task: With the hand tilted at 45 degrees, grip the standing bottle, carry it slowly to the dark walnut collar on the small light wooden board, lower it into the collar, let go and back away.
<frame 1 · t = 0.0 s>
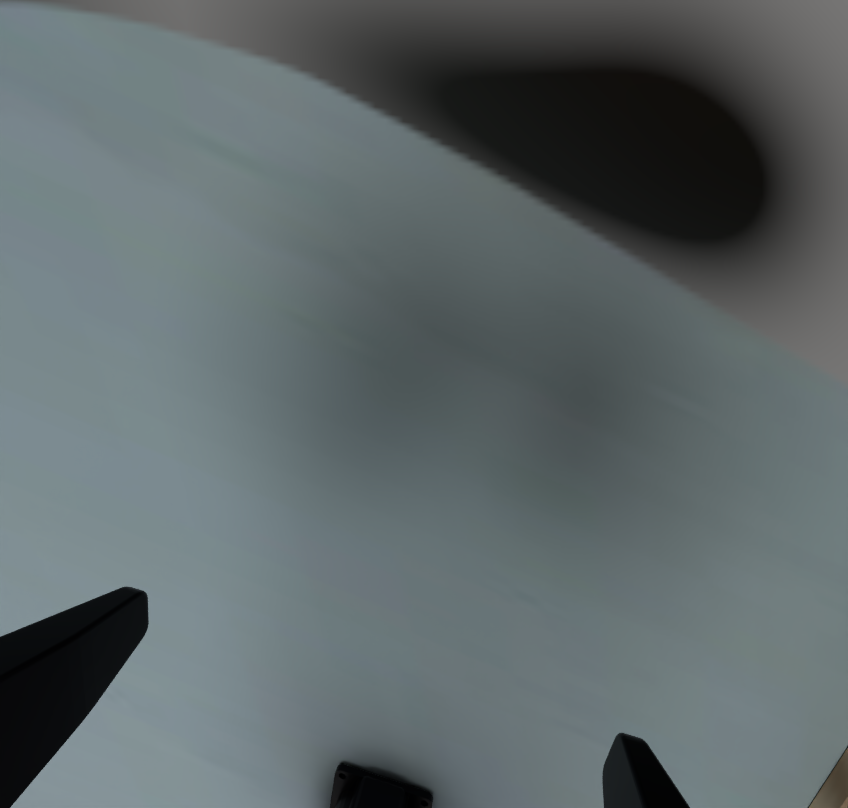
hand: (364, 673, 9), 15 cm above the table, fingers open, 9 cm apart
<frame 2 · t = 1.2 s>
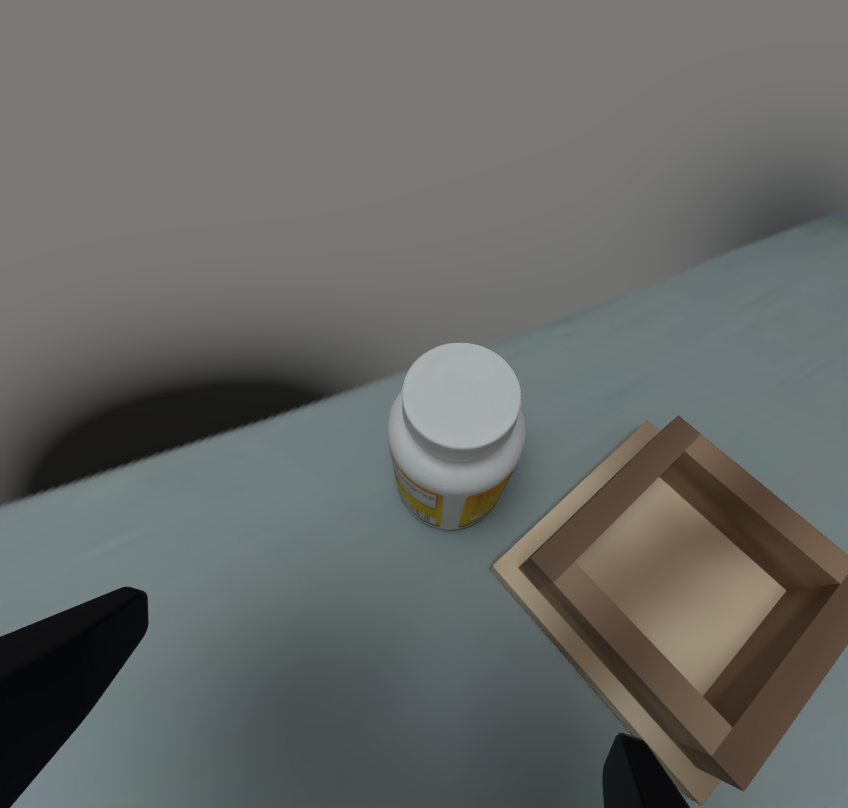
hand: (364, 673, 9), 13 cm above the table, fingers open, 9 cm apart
supplement bottle: (449, 480, 24), on the table
socket board: (658, 583, 22), on the table
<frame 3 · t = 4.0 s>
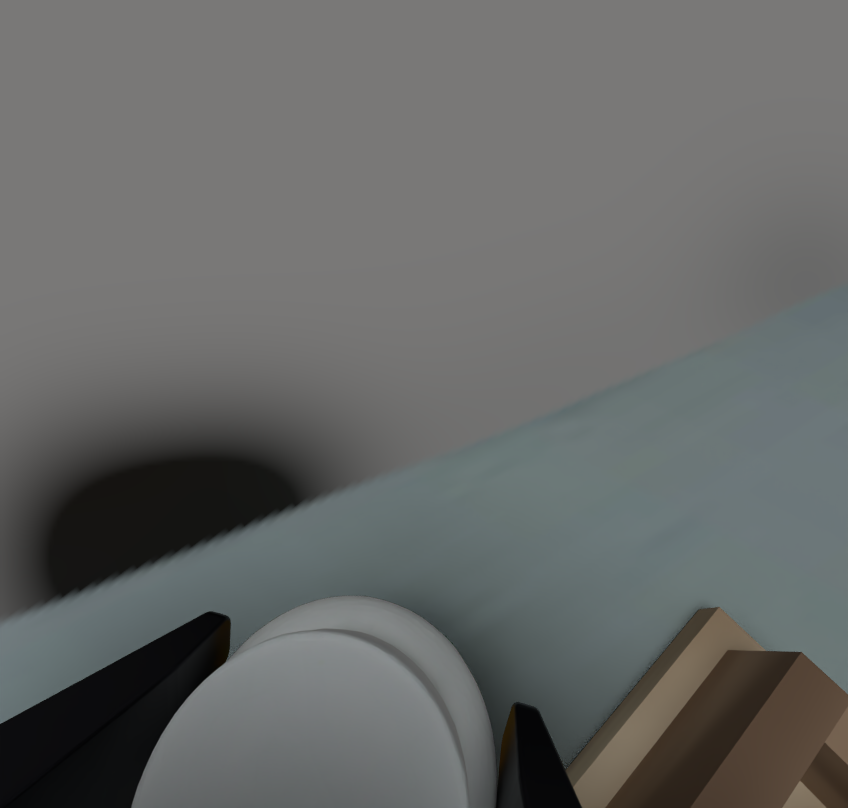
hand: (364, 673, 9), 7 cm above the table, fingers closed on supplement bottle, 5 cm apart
supplement bottle: (379, 711, 14), on the table, touching gripper
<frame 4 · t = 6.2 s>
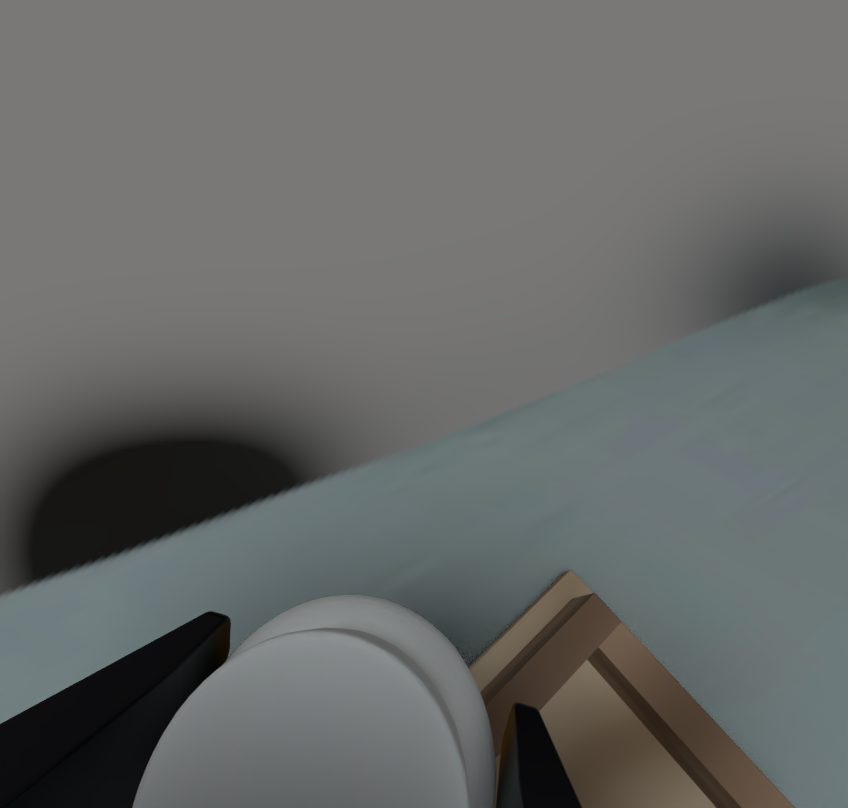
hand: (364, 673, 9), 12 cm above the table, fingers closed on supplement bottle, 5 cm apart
supplement bottle: (377, 708, 14), point 5 cm above the table, touching gripper
socket board: (572, 794, 17), on the table
when the fingers open (9 cm above the table, at t = 8.6 s): supplement bottle stays where it is, resting on socket board.
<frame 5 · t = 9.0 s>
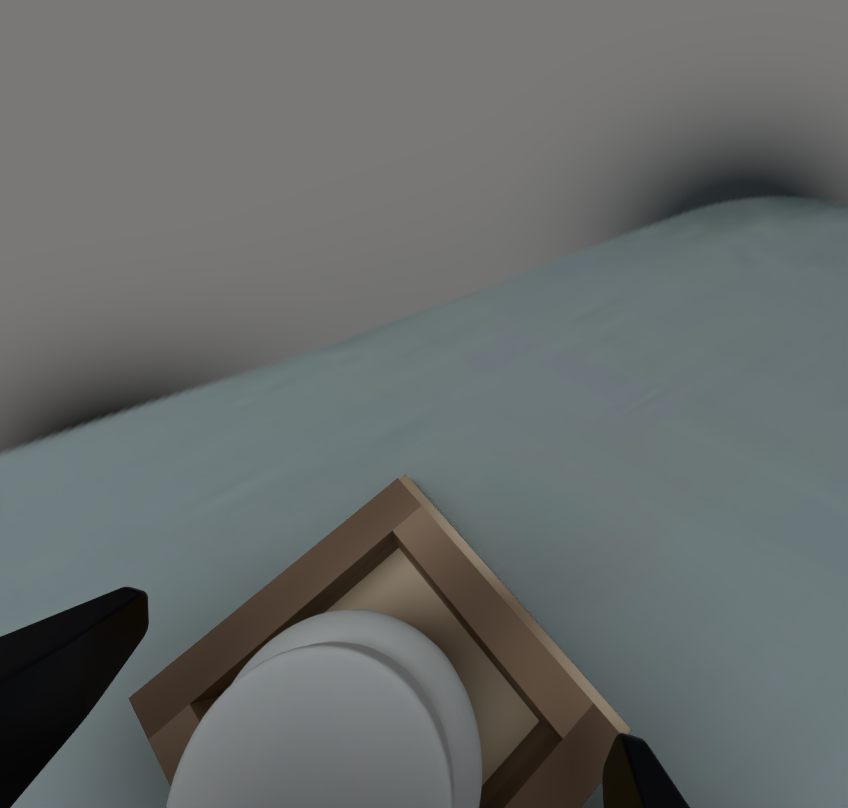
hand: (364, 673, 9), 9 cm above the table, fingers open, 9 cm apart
supplement bottle: (379, 712, 15), point 1 cm above the table, touching socket board
socket board: (386, 702, 16), on the table
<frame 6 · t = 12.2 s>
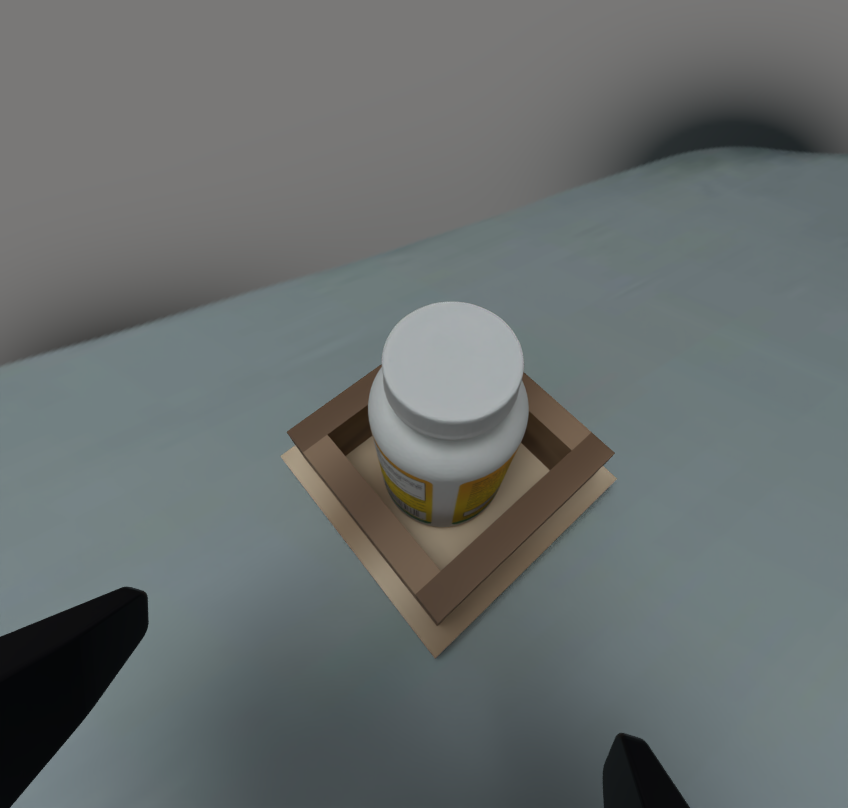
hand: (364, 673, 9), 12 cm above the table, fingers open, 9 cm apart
supplement bottle: (442, 472, 22), point 1 cm above the table, touching socket board
socket board: (445, 475, 23), on the table
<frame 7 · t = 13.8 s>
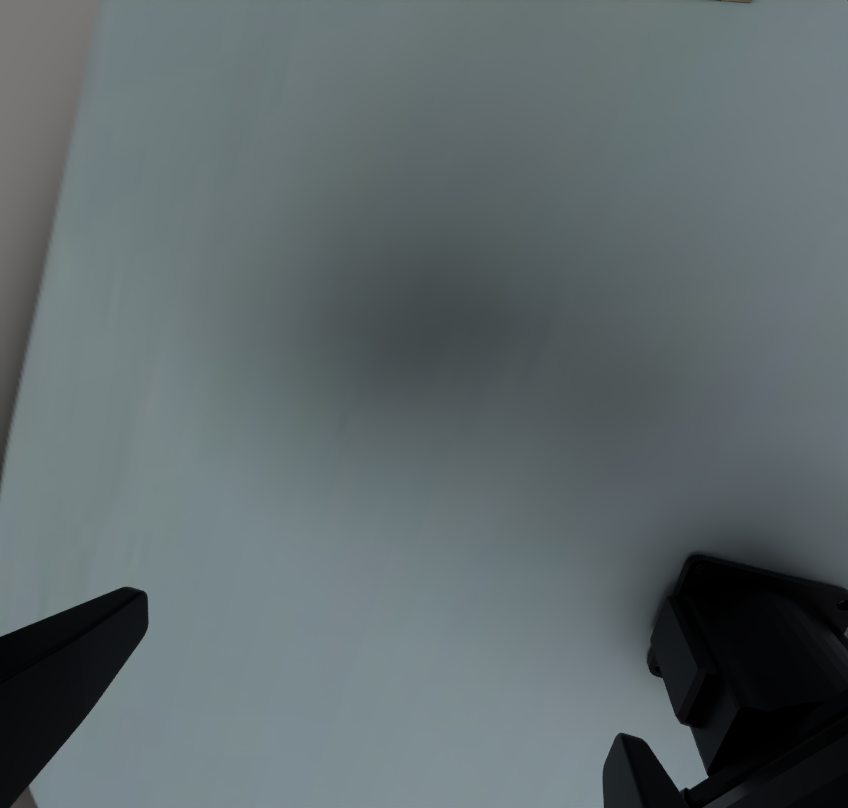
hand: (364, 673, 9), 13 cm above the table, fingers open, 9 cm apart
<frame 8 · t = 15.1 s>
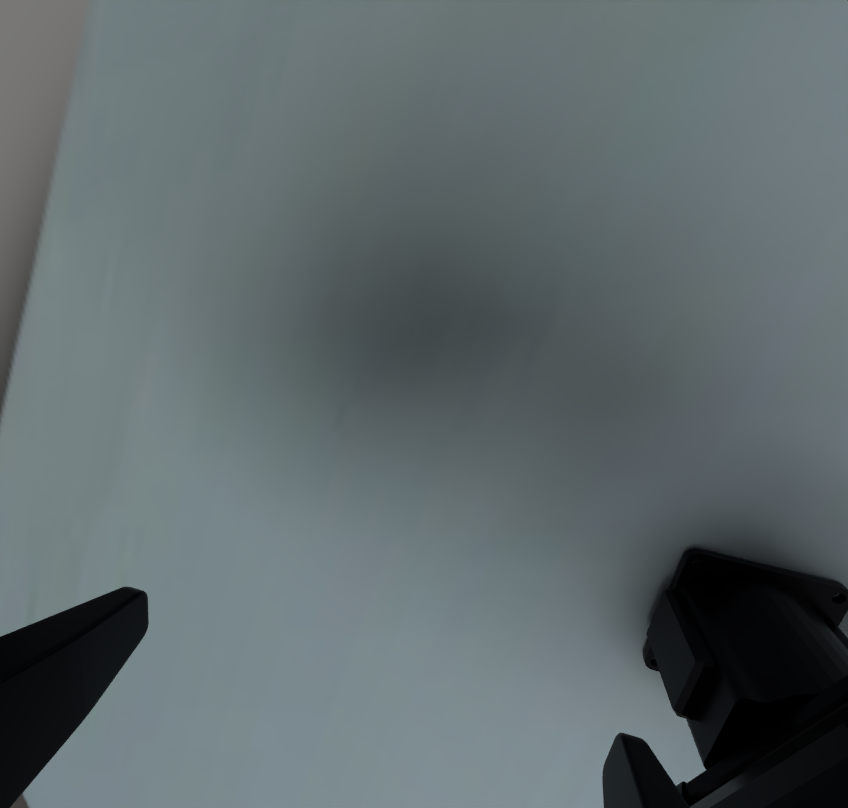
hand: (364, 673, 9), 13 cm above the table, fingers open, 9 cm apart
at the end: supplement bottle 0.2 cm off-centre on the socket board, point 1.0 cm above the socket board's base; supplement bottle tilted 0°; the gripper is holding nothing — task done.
